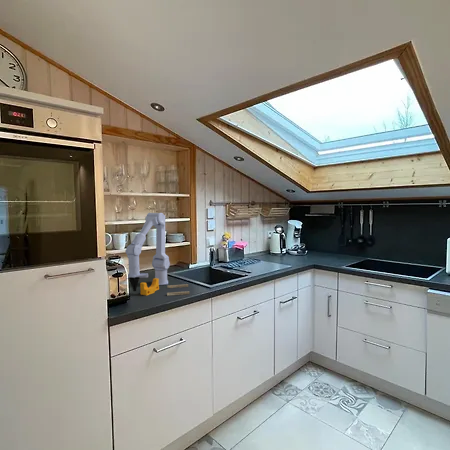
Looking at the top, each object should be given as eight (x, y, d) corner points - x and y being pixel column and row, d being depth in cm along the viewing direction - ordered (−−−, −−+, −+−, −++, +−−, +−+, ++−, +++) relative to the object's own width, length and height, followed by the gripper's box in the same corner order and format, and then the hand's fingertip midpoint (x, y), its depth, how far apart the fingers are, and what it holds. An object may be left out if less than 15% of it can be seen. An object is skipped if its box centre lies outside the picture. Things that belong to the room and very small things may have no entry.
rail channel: (167, 287, 178) (167, 285, 177) (188, 286, 179) (188, 284, 179) (167, 295, 162) (166, 293, 162) (189, 294, 164) (189, 292, 164)
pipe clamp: (146, 295, 163) (146, 283, 162) (140, 294, 165) (140, 283, 164) (161, 289, 173) (160, 278, 173) (155, 289, 175) (155, 278, 175)
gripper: (118, 268, 161) (119, 293, 162) (146, 267, 163) (147, 292, 164) (121, 266, 168) (122, 290, 169) (148, 264, 170) (148, 288, 171)
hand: (134, 290), depth 167 cm, fingers closed
